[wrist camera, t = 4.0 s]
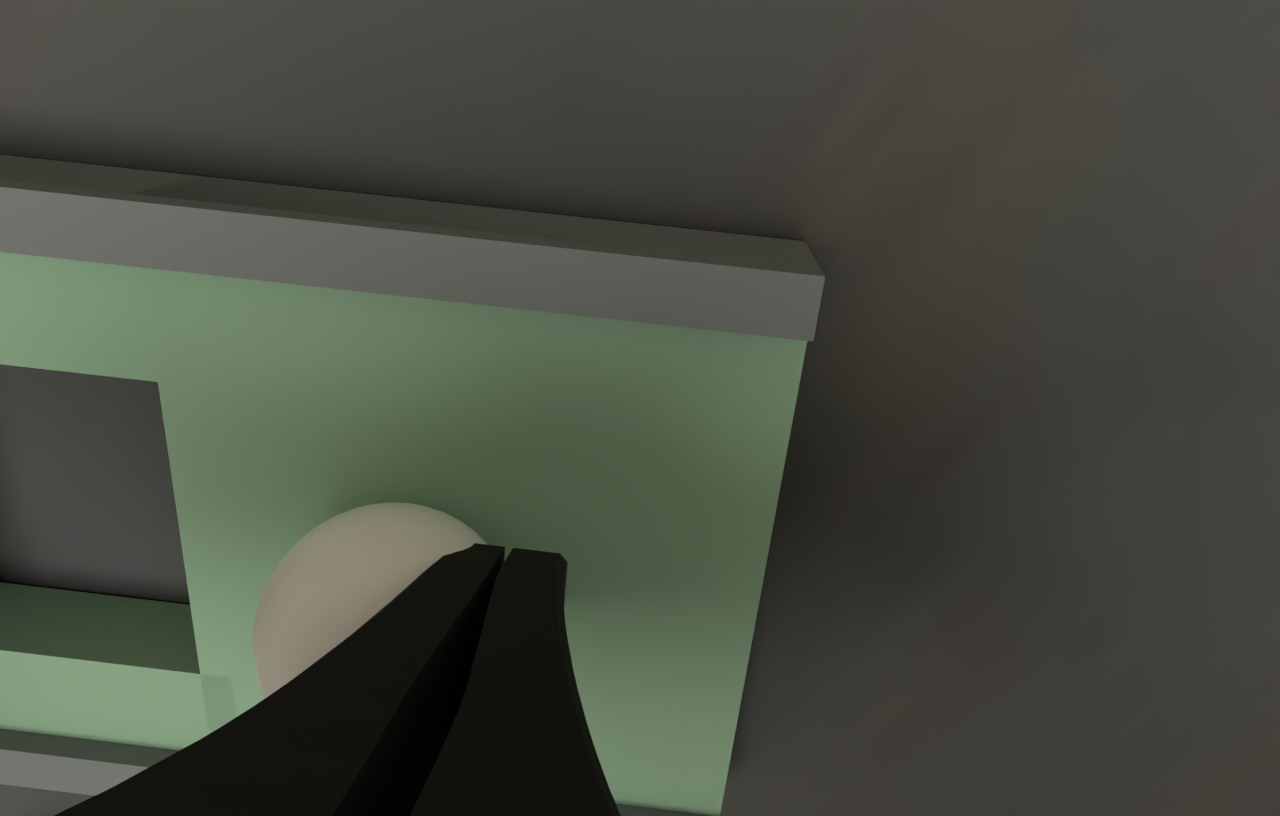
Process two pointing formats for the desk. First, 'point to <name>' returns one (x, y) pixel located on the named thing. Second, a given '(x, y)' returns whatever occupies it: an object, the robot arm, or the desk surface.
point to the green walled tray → (408, 441)
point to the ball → (345, 581)
